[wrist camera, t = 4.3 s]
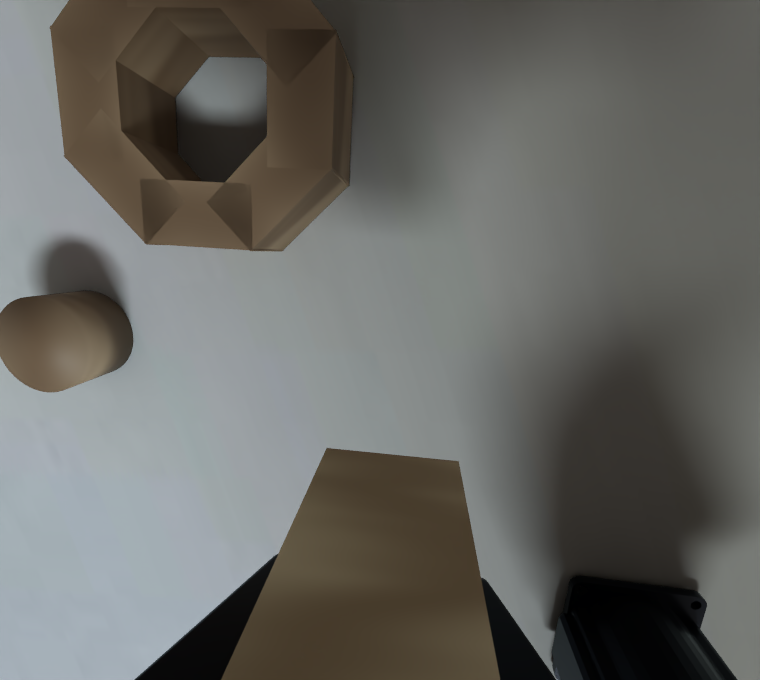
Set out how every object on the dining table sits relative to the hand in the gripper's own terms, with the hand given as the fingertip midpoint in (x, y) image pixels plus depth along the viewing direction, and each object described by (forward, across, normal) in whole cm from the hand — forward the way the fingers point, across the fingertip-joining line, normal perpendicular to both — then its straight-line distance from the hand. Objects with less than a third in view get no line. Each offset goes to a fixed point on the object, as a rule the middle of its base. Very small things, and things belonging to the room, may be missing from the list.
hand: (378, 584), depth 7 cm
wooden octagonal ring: (+12, +8, -11) cm, 18 cm away
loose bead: (+12, +16, -1) cm, 20 cm away
